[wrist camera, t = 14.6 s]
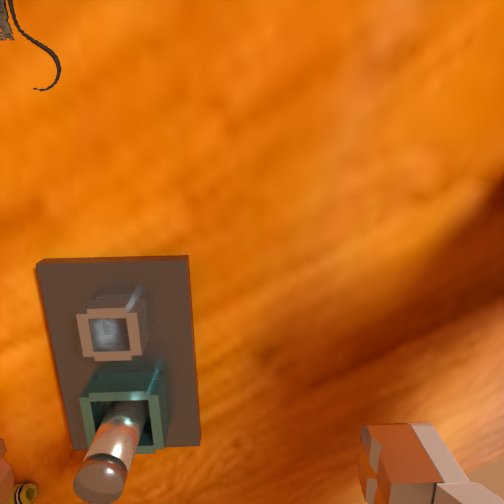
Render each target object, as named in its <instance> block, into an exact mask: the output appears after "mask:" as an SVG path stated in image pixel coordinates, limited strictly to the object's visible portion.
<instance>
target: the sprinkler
mask: <svg viewBox="0 0 504 504" xmlns="http://www.w3.org/2000/svg"><path fill="white" fill-rule="evenodd" d="M37 496H38V490H37V487H36V484H32V483H25V484H24V483H19V484H16V485H14V486H13V490H12V493H11V496H10V499H9V502H8V504H32V503H33V502H35V499H36V497H37Z"/></svg>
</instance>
